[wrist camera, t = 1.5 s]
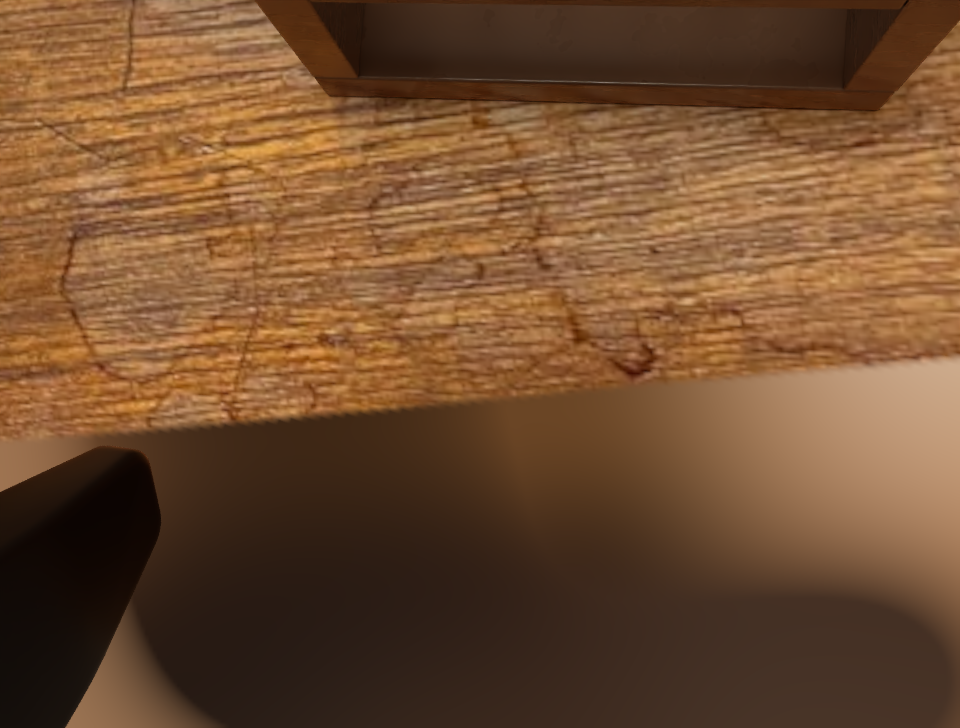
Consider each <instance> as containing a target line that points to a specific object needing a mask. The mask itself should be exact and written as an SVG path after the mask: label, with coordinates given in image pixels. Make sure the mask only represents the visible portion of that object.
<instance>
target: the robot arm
mask: <svg viewBox="0 0 960 728" xmlns="http://www.w3.org/2000/svg"><path fill="white" fill-rule="evenodd" d="M160 526H161V514H160V509H159V504H158V499H157V495H156V490H155V485H154V481H153V476H152V471H151V467H150V463H149V460H148V458H147V457H146V455H145V454H144V453H143V452H141V451H139V450H136V449H129V448H122V447H115V446H99V447H97V448H94V449H92V450H90V451H88V452H86V453H83V454H81V455H79V456H77V457H75V458H73V459H70V460H68V461H66V462H64V463H62V464H60V465H57V466H55V467H53V468H51V469H49V470H47V471H45V472H42V473H40V474H38V475H36V476H34V477H32V478H29V479H27V480H25V481H23V482H21V483H19V484H17V485H15V486H12V487H10V488H8V489H6V490H4V491H2V492H0V728H65V727H66V726H67V724H68V722H69V720H70V719H71V717H72V715H73V714H74V712H75V710H76V708H77V707H78V705H79V703H80V702H81V700H82V698H83V696H84V694H85V692H86V691H87V689H88V687H89V685H90V684H91V682H92V680H93V678H94V676H95V674H96V672H97V670H98V668H99V666H100V664H101V662H102V660H103V658H104V656H105V654H106V651H107V649H108V647H109V645H110V643H111V640H112V638H113V636H114V634H115V631H116V629H117V627H118V625H119V623H120V621H121V618H122V616H123V614H124V612H125V610H126V607H127V605H128V603H129V601H130V599H131V596H132V594H133V592H134V590H135V588H136V585H137V583H138V581H139V579H140V577H141V575H142V572H143V570H144V568H145V566H146V564H147V561H148V559H149V557H150V555H151V552H152V550H153V548H154V546H155V544H156V541H157V539H158V536H159V532H160Z"/></svg>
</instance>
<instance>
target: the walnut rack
mask: <svg viewBox="0 0 960 728" xmlns="http://www.w3.org/2000/svg"><path fill="white" fill-rule="evenodd" d="M255 2H256V3H257V4H258V6H259V7H260V8H261V9H262V11H263V12H264V13H265V15H266V16H267V17H268V19H269V20H270V21H271V22H272V24H273V25H274V26H275V28H276V29H277V30H278V32H279V33H280V34H281V35H282V37H283V38H284V39H285V41H286V42H287V43H288V45H289V46H290V47H291V48H292V50H293V51H294V52H295V54H296V55H297V56H298V58H299V59H300V60H301V61H302V63H303V64H304V65H305V67H306V68H307V69H308V70H309V72H310V73H311V74H312V76H313V77H315V79H316V80H317V81H318V83H319V84H320V85H321V87H322V88H323V89H324V91H325V92H326V93H327V94H328V95H339V96H376V97H412V98H449V99H486V100H523V101H559V102H596V103H633V104H670V105H707V106H743V107H780V108H817V109H854V110H879V109H880V108H881V107H882V106H883V105H884V104H885V103H886V101H887V100H888V99H889V98H890V97H891V96H892V95H893V94H894V92H895V91H897V90H898V89H899V88H900V86H901V85H902V84H903V83H904V82H905V81H906V80H907V79H908V77H909V76H910V75H911V74H912V73H913V72H914V71H915V70H916V69H917V67H918V66H919V65H920V64H921V63H922V62H923V61H924V60H925V59H926V57H927V56H928V55H929V54H930V53H931V52H932V51H933V50H934V48H935V47H936V46H937V45H938V44H939V43H940V42H941V41H942V40H943V38H944V37H945V36H946V35H947V34H948V33H949V32H950V31H951V30H952V28H953V27H954V26H955V25H956V24H957V23H958V22H959V21H960V0H255Z"/></svg>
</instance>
